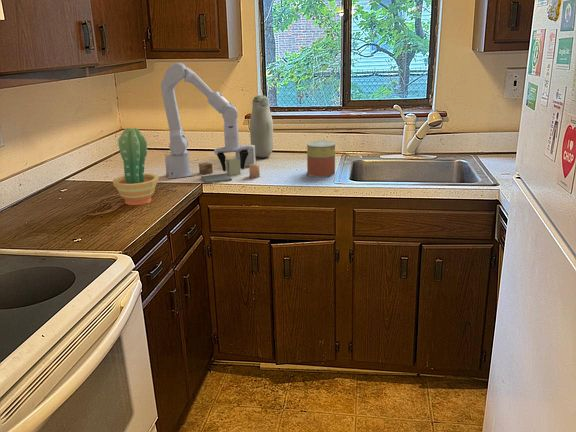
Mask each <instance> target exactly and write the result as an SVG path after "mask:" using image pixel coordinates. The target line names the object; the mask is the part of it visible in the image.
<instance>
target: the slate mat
mask: <svg viewBox="0 0 576 432" xmlns="http://www.w3.org/2000/svg"><path fill="white" fill-rule="evenodd" d="M200 180H202V181H203V182H204V183H205V184H206V185H208V184H214V183H213V182H217V183H222V182H221V181H225V182H230V180H232V178H231V176H230V175H229V174H226V173H218V174H217V173H216V174H208V175H202V176H200Z"/></svg>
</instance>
